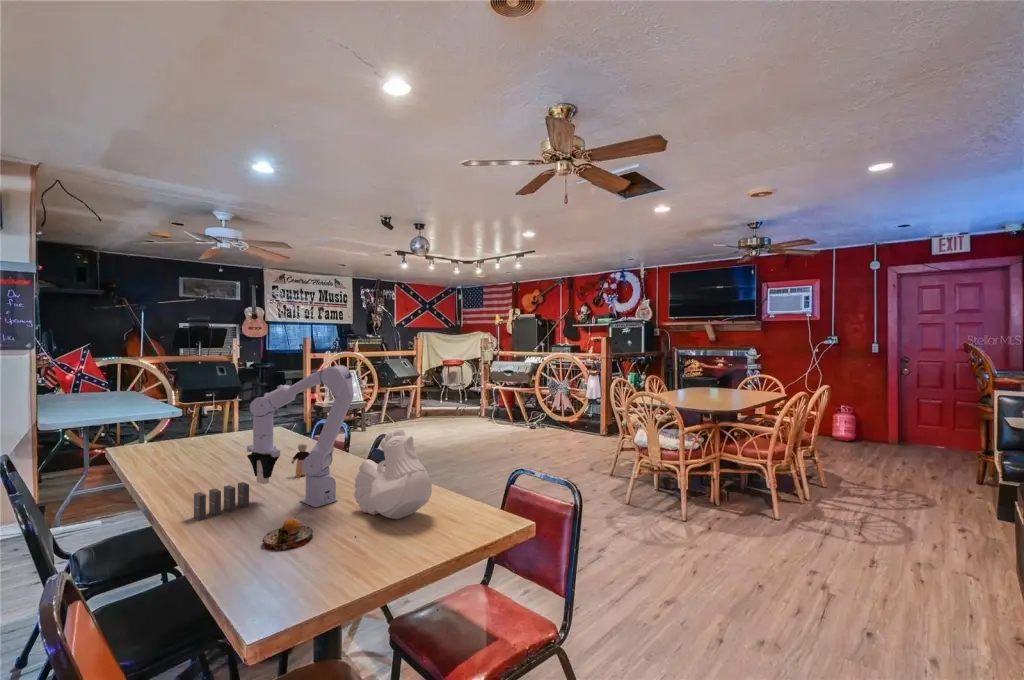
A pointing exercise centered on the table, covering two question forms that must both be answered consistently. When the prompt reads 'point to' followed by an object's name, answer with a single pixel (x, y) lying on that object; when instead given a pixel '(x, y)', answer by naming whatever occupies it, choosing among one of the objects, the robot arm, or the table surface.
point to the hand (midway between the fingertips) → (263, 476)
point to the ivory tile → (261, 474)
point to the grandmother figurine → (300, 459)
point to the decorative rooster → (393, 480)
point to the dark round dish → (288, 536)
